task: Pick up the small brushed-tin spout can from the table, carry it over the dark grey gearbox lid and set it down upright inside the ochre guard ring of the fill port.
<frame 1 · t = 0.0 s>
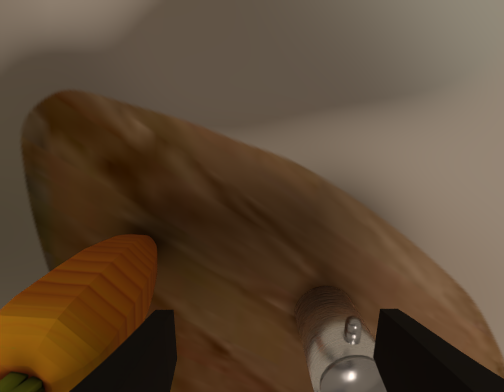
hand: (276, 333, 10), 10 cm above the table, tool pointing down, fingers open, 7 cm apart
carrot: (148, 239, 20), on the table
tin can: (323, 311, 21), on the table
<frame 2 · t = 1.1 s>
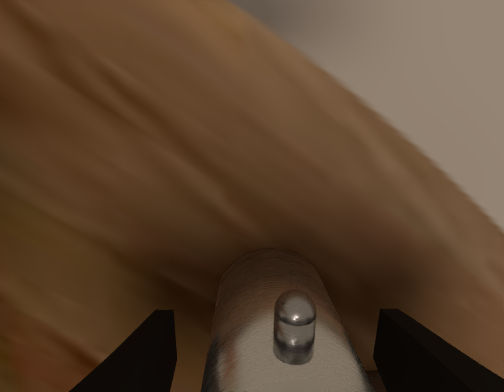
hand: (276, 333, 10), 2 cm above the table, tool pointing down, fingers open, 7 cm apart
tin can: (270, 296, 12), on the table
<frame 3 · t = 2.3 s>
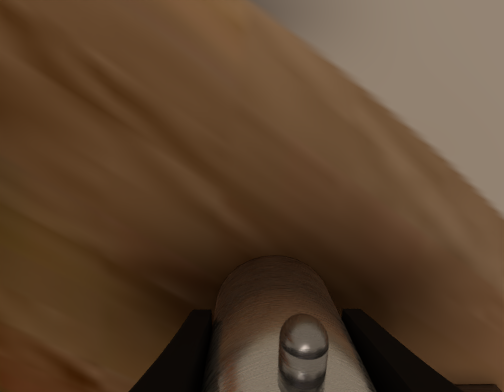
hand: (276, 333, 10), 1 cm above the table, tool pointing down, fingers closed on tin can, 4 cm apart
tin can: (272, 307, 11), on the table, touching gripper
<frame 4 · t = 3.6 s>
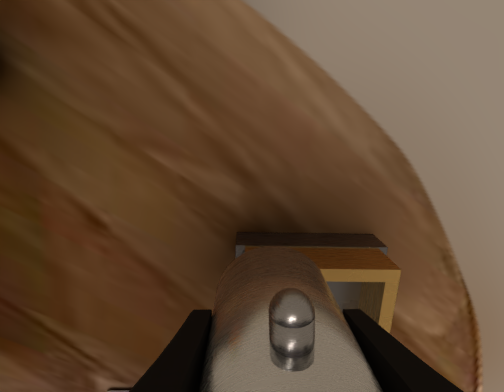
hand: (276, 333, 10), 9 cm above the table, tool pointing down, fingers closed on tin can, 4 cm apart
gearbox: (299, 311, 20), on the table
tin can: (271, 296, 11), point 7 cm above the table, touching gripper
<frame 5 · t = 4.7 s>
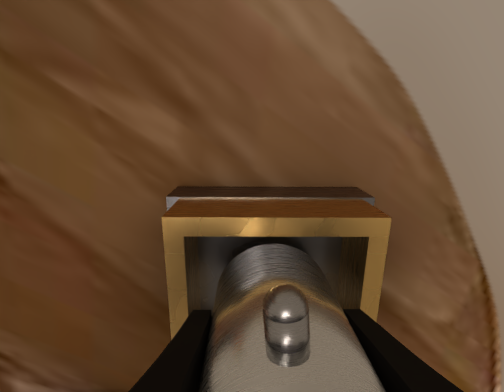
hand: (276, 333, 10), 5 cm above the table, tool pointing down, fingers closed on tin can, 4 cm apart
gearbox: (265, 292, 15), on the table
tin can: (271, 294, 11), point 4 cm above the table, touching gripper
when the fingers open (5 cm above the table, at t = 5.4 s): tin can drops 2 cm, resting on gearbox.
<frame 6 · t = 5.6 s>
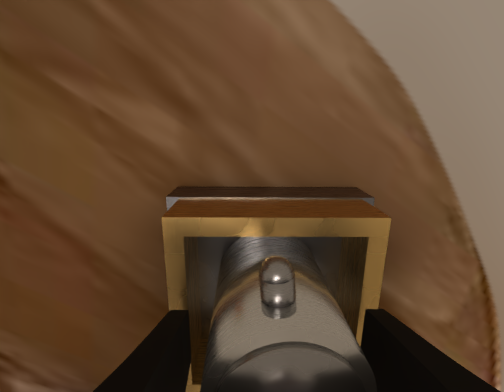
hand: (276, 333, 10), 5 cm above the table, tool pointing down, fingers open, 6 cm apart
gearbox: (265, 292, 15), on the table
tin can: (267, 274, 13), point 2 cm above the table, touching gearbox
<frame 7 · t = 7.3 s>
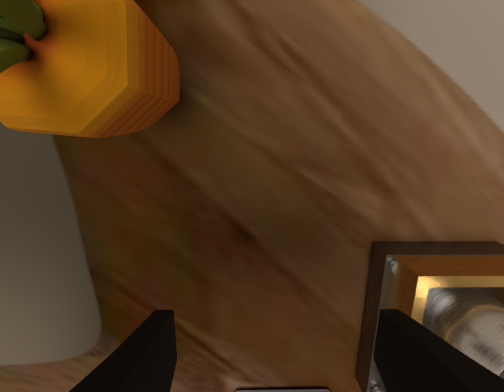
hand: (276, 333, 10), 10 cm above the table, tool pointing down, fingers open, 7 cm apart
carrot: (166, 91, 17), on the table
gearbox: (421, 313, 21), on the table
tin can: (444, 304, 19), point 2 cm above the table, touching gearbox
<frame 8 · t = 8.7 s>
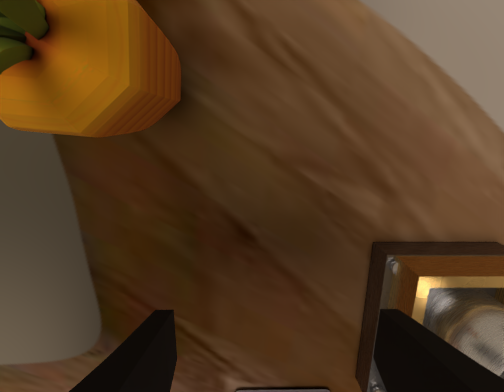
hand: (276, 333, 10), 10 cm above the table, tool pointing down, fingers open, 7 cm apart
carrot: (166, 90, 17), on the table
gearbox: (421, 313, 21), on the table
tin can: (444, 304, 19), point 2 cm above the table, touching gearbox
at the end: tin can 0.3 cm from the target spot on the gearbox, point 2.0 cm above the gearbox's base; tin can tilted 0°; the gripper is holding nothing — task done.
